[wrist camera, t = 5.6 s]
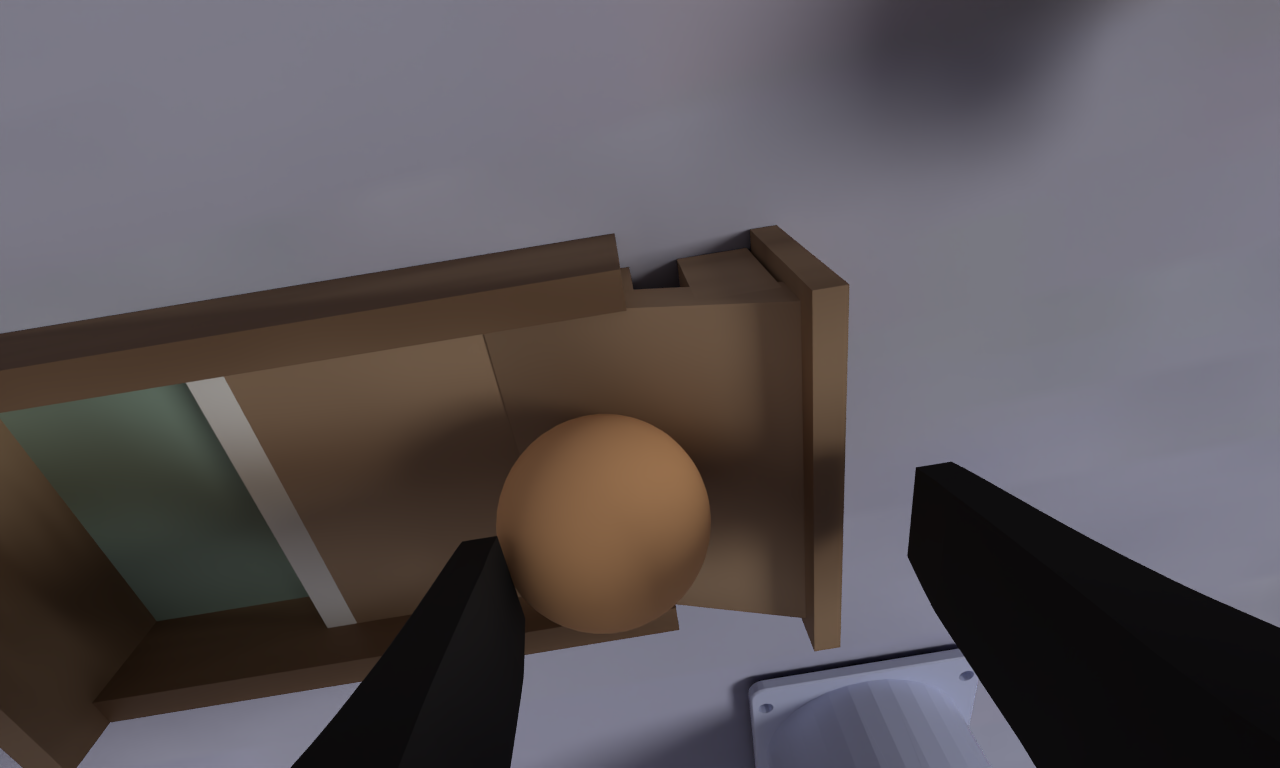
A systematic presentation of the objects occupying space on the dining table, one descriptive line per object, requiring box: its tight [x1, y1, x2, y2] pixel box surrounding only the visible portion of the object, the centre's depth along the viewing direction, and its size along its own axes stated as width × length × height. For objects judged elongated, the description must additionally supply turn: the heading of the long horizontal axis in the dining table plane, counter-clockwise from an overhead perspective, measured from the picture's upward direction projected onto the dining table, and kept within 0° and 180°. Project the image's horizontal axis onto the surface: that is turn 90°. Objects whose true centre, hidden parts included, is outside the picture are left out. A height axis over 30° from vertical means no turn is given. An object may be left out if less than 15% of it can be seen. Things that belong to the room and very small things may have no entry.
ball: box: [496, 414, 711, 634], centre depth 11 cm, size 4×4×4 cm
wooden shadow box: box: [0, 225, 849, 768], centre depth 13 cm, size 10×19×4 cm, turn 98°
